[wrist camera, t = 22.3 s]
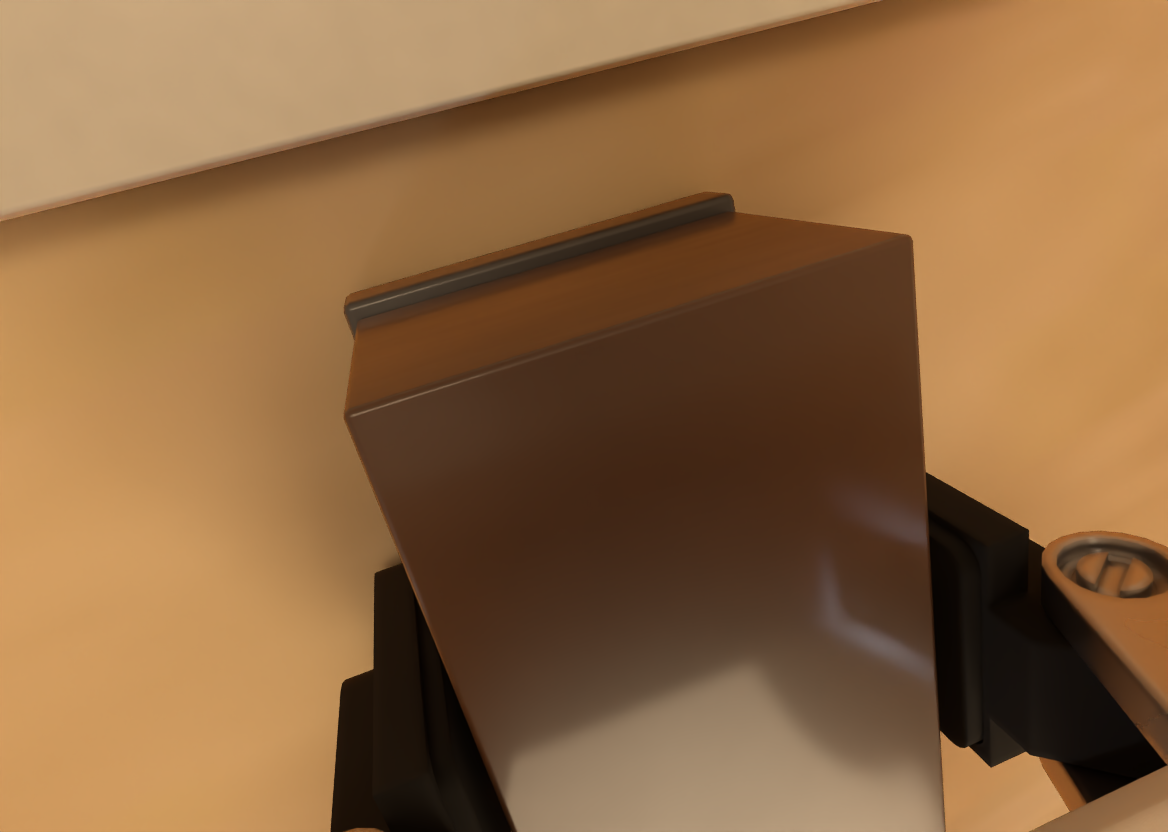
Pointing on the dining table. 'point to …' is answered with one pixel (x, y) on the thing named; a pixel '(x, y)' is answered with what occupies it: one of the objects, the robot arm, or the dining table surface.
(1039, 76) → the dining table surface
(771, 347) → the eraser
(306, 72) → the board
